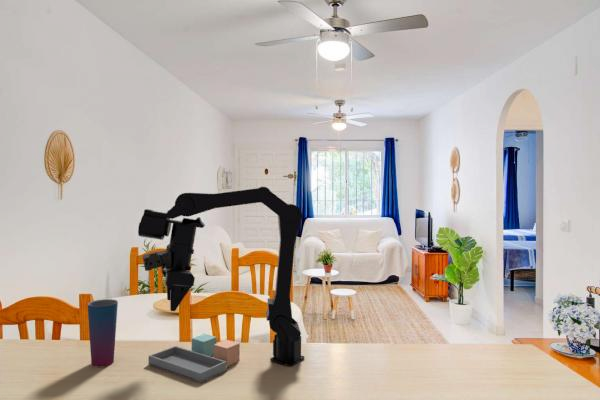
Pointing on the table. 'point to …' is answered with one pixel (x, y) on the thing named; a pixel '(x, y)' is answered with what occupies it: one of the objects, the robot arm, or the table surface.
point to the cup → (102, 331)
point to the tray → (188, 364)
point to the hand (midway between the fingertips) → (171, 305)
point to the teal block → (204, 344)
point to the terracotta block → (227, 351)
